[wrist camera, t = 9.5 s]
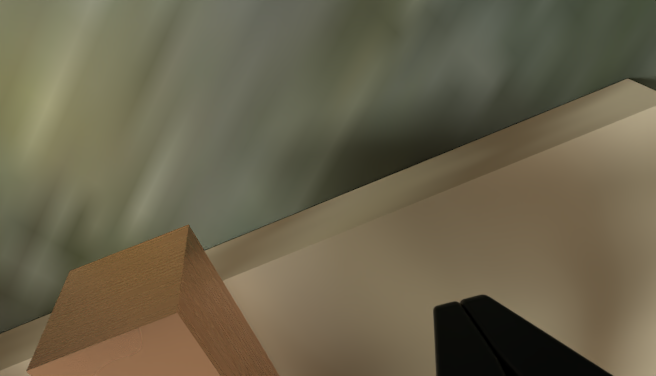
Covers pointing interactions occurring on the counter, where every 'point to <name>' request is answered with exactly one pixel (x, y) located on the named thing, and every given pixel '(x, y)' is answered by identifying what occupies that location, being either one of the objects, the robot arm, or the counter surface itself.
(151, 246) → the handle
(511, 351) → the robot arm
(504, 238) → the coupling base
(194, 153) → the counter surface
